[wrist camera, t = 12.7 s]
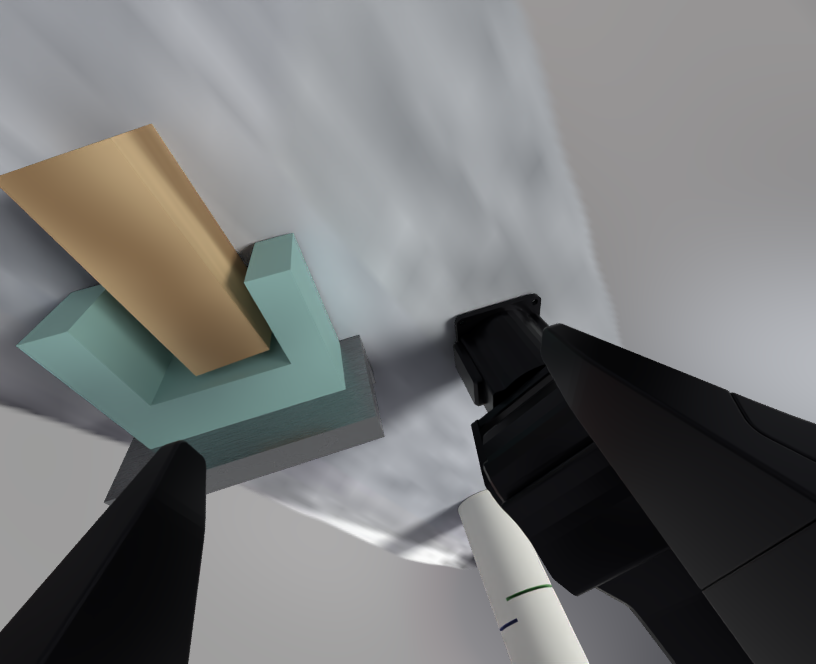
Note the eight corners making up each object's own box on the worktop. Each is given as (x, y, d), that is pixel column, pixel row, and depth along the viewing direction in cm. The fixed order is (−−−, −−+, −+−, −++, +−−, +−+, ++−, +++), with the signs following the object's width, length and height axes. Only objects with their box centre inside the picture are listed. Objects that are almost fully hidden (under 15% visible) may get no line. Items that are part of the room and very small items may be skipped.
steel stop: (359, 335, 23) (376, 416, 17) (373, 373, 25) (391, 454, 20) (152, 396, 22) (103, 502, 16) (189, 430, 24) (157, 531, 19)
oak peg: (153, 123, 14) (110, 137, 11) (274, 307, 20) (269, 349, 17) (60, 154, 14) (-9, 178, 11) (212, 330, 20) (196, 376, 17)
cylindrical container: (447, 514, 45) (554, 843, 26) (482, 485, 42) (631, 830, 23) (482, 517, 48) (598, 806, 29) (517, 491, 46) (669, 792, 27)
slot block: (292, 232, 17) (290, 269, 14) (339, 343, 22) (345, 389, 19) (71, 292, 16) (15, 346, 13) (173, 393, 22) (150, 449, 18)
